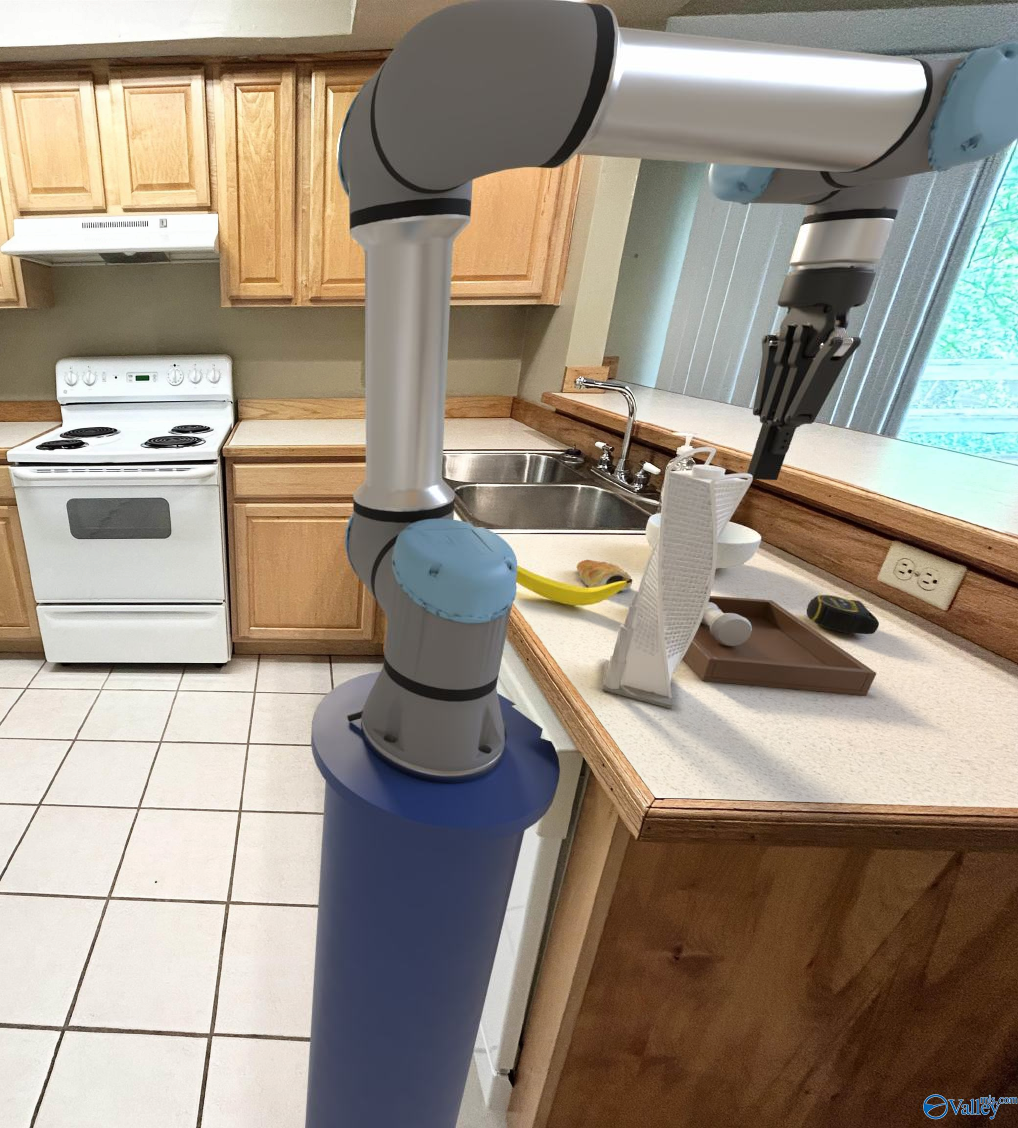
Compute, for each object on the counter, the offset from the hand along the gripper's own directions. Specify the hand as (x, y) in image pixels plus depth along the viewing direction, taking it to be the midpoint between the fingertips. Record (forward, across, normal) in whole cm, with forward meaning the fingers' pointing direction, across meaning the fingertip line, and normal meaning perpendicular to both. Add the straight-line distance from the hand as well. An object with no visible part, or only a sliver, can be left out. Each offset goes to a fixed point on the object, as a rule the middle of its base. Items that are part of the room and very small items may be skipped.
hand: (761, 477), depth 74 cm
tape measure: (+23, +6, -20) cm, 31 cm away
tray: (+22, -3, -2) cm, 23 cm away
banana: (+23, +8, +18) cm, 30 cm away
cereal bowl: (+23, +29, -11) cm, 38 cm away
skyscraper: (+23, -15, +14) cm, 30 cm away
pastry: (+23, +16, +9) cm, 29 cm away
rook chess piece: (+20, -5, 0) cm, 20 cm away
